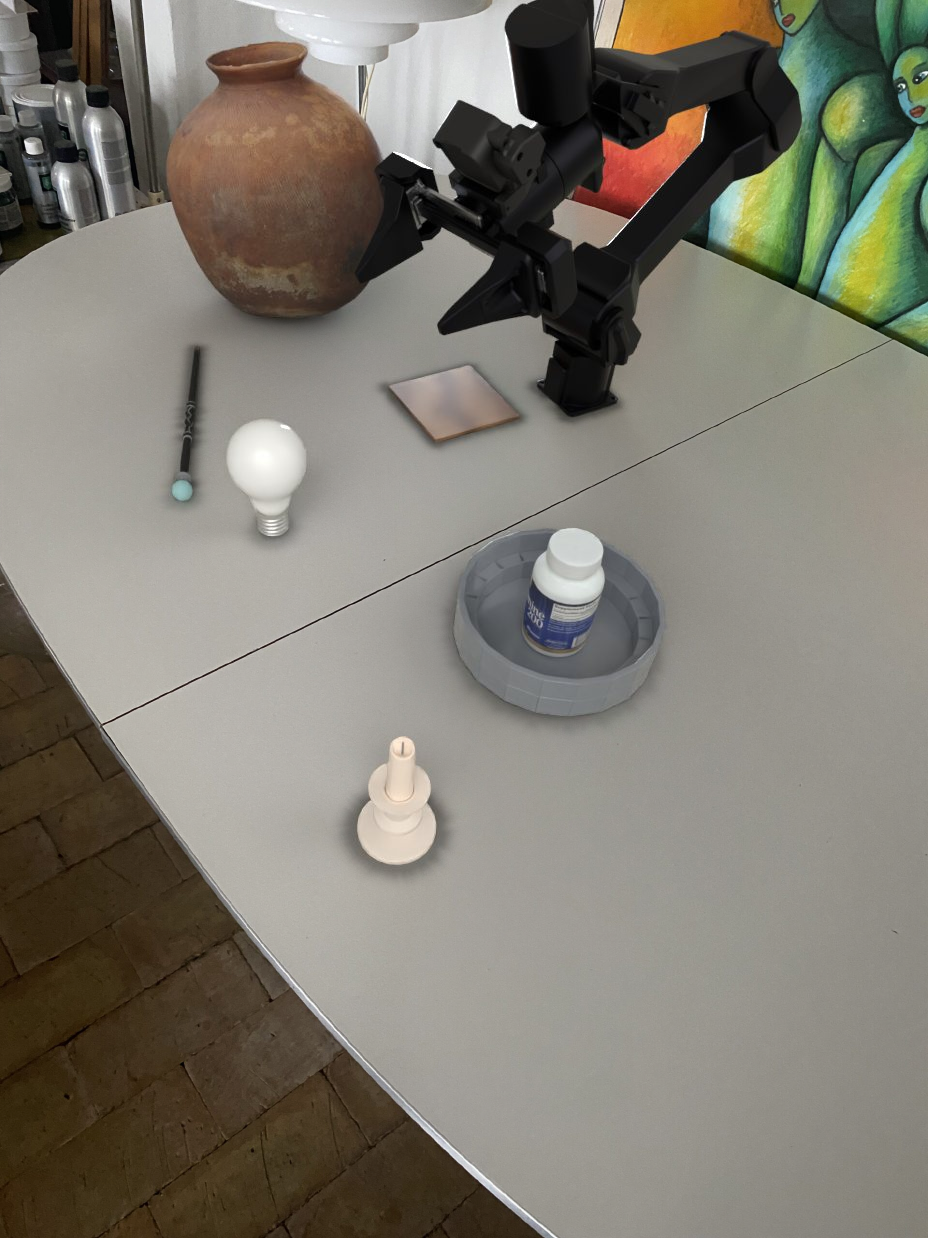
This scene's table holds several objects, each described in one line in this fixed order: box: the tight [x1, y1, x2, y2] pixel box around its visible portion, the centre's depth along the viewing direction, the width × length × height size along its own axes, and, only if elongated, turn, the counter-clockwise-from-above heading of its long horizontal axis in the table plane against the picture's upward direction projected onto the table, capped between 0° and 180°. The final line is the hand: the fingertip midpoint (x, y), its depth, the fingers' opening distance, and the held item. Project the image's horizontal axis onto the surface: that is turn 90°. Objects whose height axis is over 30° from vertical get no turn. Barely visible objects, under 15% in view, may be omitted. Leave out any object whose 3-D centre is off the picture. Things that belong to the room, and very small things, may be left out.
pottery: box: [165, 40, 385, 319], centre depth 92 cm, size 23×23×25 cm
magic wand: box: [171, 345, 200, 502], centre depth 84 cm, size 2×25×2 cm
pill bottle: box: [522, 527, 605, 657], centre depth 66 cm, size 5×5×10 cm
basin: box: [452, 528, 667, 718], centre depth 69 cm, size 16×16×4 cm
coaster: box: [388, 364, 521, 444], centre depth 90 cm, size 10×10×1 cm
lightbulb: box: [225, 417, 308, 537], centre depth 71 cm, size 6×6×11 cm
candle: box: [356, 736, 437, 866], centre depth 54 cm, size 5×5×10 cm
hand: (397, 303), depth 65 cm, fingers open, 9 cm apart
